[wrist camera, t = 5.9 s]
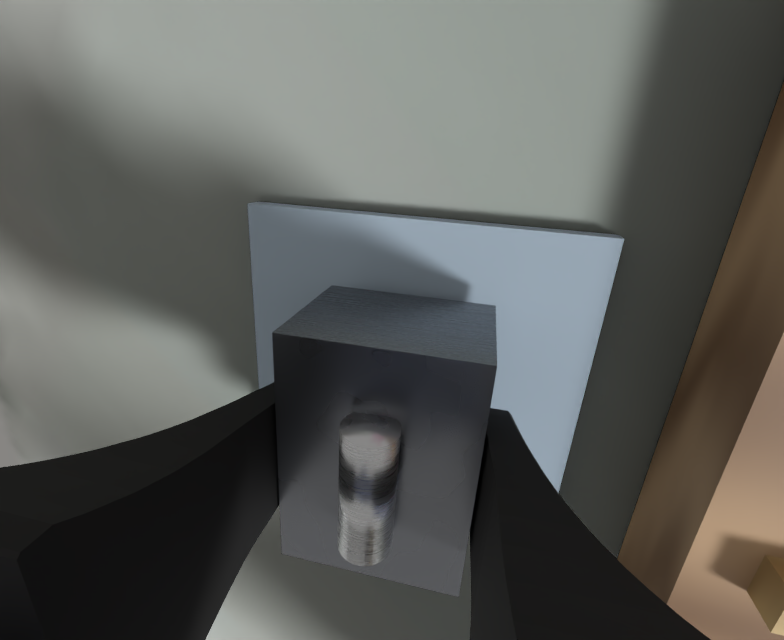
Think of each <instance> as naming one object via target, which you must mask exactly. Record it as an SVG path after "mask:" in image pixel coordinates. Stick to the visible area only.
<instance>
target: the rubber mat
mask: <svg viewBox="0 0 784 640" xmlns="http://www.w3.org/2000/svg"><path fill="white" fill-rule="evenodd" d="M247 205H248V221H249V237H250V253H251V270H252V286H253V302H254V318H255V334H256V350H257V366H258V382H259V389H261V388H263V387H265V386H267V385H269V384H271V383H273V382H274V366H273V343H272V332H273V331H275V330H276V329H277V328H279V327H280V326H281V325H282V324H284V323H285V322H286V321H287V320H289V319H290V318H291V317H292V316H294V315H295V314H296V313H297V312H299V311H300V310H301V309H302V308H304V307H305V306H306V305H307V304H309V303H310V302H311V301H312V300H314V299H315V298H316V297H317V296H319V295H320V294H321V293H322V292H324V291H325V290H326V289H328V288H329V287H330V286H331V285H334V286H342V287H350V288H358V289H366V290H374V291H383V292H391V293H399V294H407V295H415V296H423V297H431V298H439V299H447V300H455V301H463V302H471V303H479V304H487V305H495V306H496V337H497V371H496V377H495V383H494V388H493V394H492V400H491V406H490V408H494V409H500V410H506V411H509V412H510V414H511V415H512V417H513V419H514V421H515V423H516V425H517V427H518V429H519V431H520V433H521V435H522V437H523V439H524V441H525V442H526V444H527V446H528V448H529V449H530V451H531V453H532V454H533V456H534V458H535V459H536V461H537V462H538V464H539V466H540V467H541V469H542V470H543V472H544V473H545V475H546V476H547V478H548V479H549V481H550V482H551V484H552V485H553V486H554V488H555V489H556V490H557V492H558V493H559V489H560V485H561V482H562V478H563V474H564V470H565V466H566V462H567V458H568V455H569V451H570V447H571V443H572V439H573V435H574V431H575V428H576V424H577V420H578V416H579V412H580V408H581V404H582V401H583V397H584V393H585V389H586V385H587V381H588V377H589V374H590V370H591V366H592V362H593V358H594V354H595V350H596V347H597V343H598V339H599V335H600V331H601V327H602V323H603V320H604V316H605V312H606V308H607V304H608V300H609V296H610V293H611V289H612V285H613V281H614V277H615V273H616V269H617V266H618V262H619V258H620V254H621V250H622V246H623V242H624V238H622V237H621V236H619V235H615V234H604V233H593V232H583V231H572V230H561V229H550V228H539V227H528V226H518V225H507V224H496V223H485V222H474V221H464V220H453V219H442V218H431V217H420V216H409V215H399V214H388V213H377V212H366V211H355V210H344V209H334V208H323V207H312V206H301V205H290V204H280V203H269V202H253V203H248V204H247Z"/></svg>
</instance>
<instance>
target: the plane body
mask: <svg viewBox="0 0 784 640" xmlns="http://www.w3.org/2000/svg"><path fill="white" fill-rule="evenodd" d="M617 560H618V561H619V562H620V563H621V564H622V565H623V566H624V567H625V568H626V569H627V570H629V571H630V572H631V573H632V574H633V575H634V576H635V577H636V578H637V579H638V580H639V581H641V582H642V583H643V584H644V585H645V586H646V587H647V588H648V589H649V590H651V591H652V592H653V593H654V594H655V595H656V596H658V597H659V598H660V599H661V600H662V601H663V602H665V603H666V604H667V605H668V606H669V607H670V608H672V609H673V610H674V611H675V612H676V613H677V614H679V615H680V616H681V617H682V618H684V619H685V620H686V621H687V622H689V623H690V624H691V625H692V626H694V627H695V628H696V629H698V630H699V631H700V632H702V633H703V634H704V635H705V636H707V637H708V638H709V639H711V640H784V82H783V85H782V88H781V91H780V94H779V97H778V100H777V102H776V105H775V108H774V111H773V114H772V117H771V120H770V122H769V125H768V128H767V131H766V134H765V137H764V140H763V143H762V145H761V148H760V151H759V154H758V157H757V160H756V163H755V165H754V168H753V171H752V174H751V177H750V180H749V183H748V186H747V188H746V191H745V194H744V197H743V200H742V203H741V206H740V208H739V211H738V214H737V217H736V220H735V223H734V226H733V229H732V231H731V234H730V237H729V240H728V243H727V246H726V249H725V251H724V254H723V257H722V260H721V263H720V266H719V269H718V272H717V274H716V277H715V280H714V283H713V286H712V289H711V292H710V294H709V297H708V300H707V303H706V306H705V309H704V312H703V315H702V317H701V320H700V323H699V326H698V329H697V332H696V335H695V337H694V340H693V343H692V346H691V349H690V352H689V355H688V358H687V360H686V363H685V366H684V369H683V372H682V375H681V378H680V380H679V383H678V386H677V389H676V392H675V395H674V398H673V400H672V403H671V406H670V409H669V412H668V415H667V418H666V421H665V423H664V426H663V429H662V432H661V435H660V438H659V441H658V443H657V446H656V449H655V452H654V455H653V458H652V461H651V464H650V466H649V469H648V472H647V475H646V478H645V481H644V484H643V486H642V489H641V492H640V495H639V498H638V501H637V504H636V507H635V509H634V512H633V515H632V518H631V521H630V524H629V527H628V529H627V532H626V535H625V538H624V541H623V544H622V547H621V550H620V552H619V555H618V558H617Z"/></svg>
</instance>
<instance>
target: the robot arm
mask: <svg viewBox="0 0 784 640" xmlns="http://www.w3.org/2000/svg"><path fill="white" fill-rule="evenodd" d="M278 506H279V481H278V458H277V435H276V412H275V389H274V382H273V383H271V384H269V385H267V386H265V387H263V388H261V389H259V390H257V391H255V392H252V393H250V394H248V395H246V396H244V397H242V398H240V399H238V400H236V401H234V402H232V403H229V404H227V405H225V406H222V407H220V408H218V409H216V410H213V411H211V412H209V413H206V414H204V415H202V416H199V417H197V418H195V419H192V420H190V421H187V422H185V423H182V424H179V425H176V426H174V427H171V428H168V429H165V430H162V431H159V432H156V433H153V434H150V435H147V436H144V437H141V438H137V439H133V440H130V441H126V442H122V443H119V444H115V445H111V446H108V447H104V448H100V449H97V450H93V451H88V452H84V453H79V454H75V455H70V456H66V457H60V458H55V459H50V460H45V461H40V462H34V463H28V464H23V465H16V466H9V467H2V468H0V640H205V639H206V637H207V635H208V633H209V631H210V629H211V627H212V624H213V622H214V620H215V618H216V616H217V614H218V612H219V610H220V608H221V606H222V604H223V602H224V599H225V598H226V596H227V594H228V592H229V590H230V588H231V586H232V584H233V582H234V580H235V578H236V576H237V574H238V572H239V570H240V568H241V566H242V564H243V562H244V560H245V559H246V557H247V555H248V553H249V552H250V550H251V548H252V547H253V545H254V543H255V542H256V540H257V538H258V537H259V535H260V534H261V532H262V531H263V529H264V528H265V526H266V524H267V523H268V521H269V520H270V518H271V517H272V515H273V513H274V512H275V510H276V509H277V507H278ZM470 558H471V628H470V640H711V639H709V638H708V637H707V636H705V635H704V634H703V633H702V632H700V631H699V630H698V629H696V628H695V627H694V626H692V625H691V624H690V623H689V622H687V621H686V620H685V619H684V618H682V617H681V616H680V615H679V614H677V613H676V612H675V611H674V610H673V609H672V608H670V607H669V606H668V605H667V604H666V603H665V602H663V601H662V600H661V599H660V598H659V597H658V596H656V595H655V594H654V593H653V592H652V591H651V590H649V589H648V588H647V587H646V586H645V585H644V584H643V583H642V582H641V581H639V580H638V579H637V578H636V577H635V576H634V575H633V574H632V573H631V572H630V571H629V570H627V569H626V568H625V567H624V566H623V565H622V564H621V563H620V562H619V561H618V560H617V559H616V558H615V557H614V556H613V555H612V554H611V553H610V552H609V551H608V550H607V549H606V548H605V547H604V546H603V545H602V544H601V543H600V542H599V541H598V540H597V538H596V537H595V536H594V535H593V534H592V533H591V532H590V531H589V530H588V529H587V528H586V526H585V525H584V524H583V523H582V522H581V521H580V520H579V518H578V517H577V516H576V515H575V514H574V513H573V511H572V510H571V509H570V508H569V506H568V505H567V504H566V503H565V501H564V500H563V499H562V497H561V496H560V495H559V493H558V492H557V490H556V489H555V488H554V486H553V485H552V484H551V482H550V481H549V479H548V478H547V476H546V475H545V473H544V472H543V470H542V469H541V467H540V466H539V464H538V462H537V461H536V459H535V458H534V456H533V454H532V453H531V451H530V449H529V448H528V446H527V444H526V442H525V441H524V439H523V437H522V435H521V433H520V431H519V429H518V427H517V425H516V423H515V421H514V419H513V417H512V415H511V414H510V412H509V411H506V410H500V409H494V408H490V412H489V418H488V424H487V430H486V436H485V442H484V448H483V454H482V460H481V466H480V472H479V478H478V484H477V490H476V496H475V502H474V508H473V514H472V520H471V526H470Z"/></svg>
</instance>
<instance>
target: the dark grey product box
mask: <svg viewBox="0 0 784 640" xmlns="http://www.w3.org/2000/svg"><path fill="white" fill-rule="evenodd" d="M272 343H273V366H274V389H275V412H276V435H277V458H278V481H279V504H280V527H281V550H282V554H284V555H288V556H292V557H296V558H300V559H305V560H309V561H313V562H317V563H321V564H325V565H329V566H333V567H337V568H341V569H346V570H350V571H354V572H358V573H362V574H366V575H370V576H374V577H378V578H382V579H387V580H391V581H395V582H399V583H403V584H407V585H411V586H415V587H419V588H423V589H428V590H432V591H436V592H440V593H444V594H448V595H452V596H456V597H459V592H460V586H461V580H462V574H463V568H464V562H465V556H466V550H467V544H468V538H469V532H470V526H471V520H472V514H473V508H474V502H475V496H476V490H477V484H478V478H479V472H480V466H481V460H482V454H483V448H484V442H485V436H486V430H487V424H488V418H489V412H490V406H491V400H492V394H493V388H494V383H495V377H496V371H497V337H496V306H495V305H487V304H479V303H471V302H463V301H455V300H447V299H439V298H431V297H423V296H415V295H407V294H399V293H391V292H383V291H374V290H366V289H358V288H350V287H342V286H334V285H331V286H330V287H329V288H328V289H326V290H325V291H324V292H322V293H321V294H320V295H319V296H317V297H316V298H315V299H314V300H312V301H311V302H310V303H309V304H307V305H306V306H305V307H304V308H302V309H301V310H300V311H299V312H297V313H296V314H295V315H294V316H292V317H291V318H290V319H289V320H287V321H286V322H285V323H284V324H282V325H281V326H280V327H279V328H277V329H276V330H275V331H273V332H272Z"/></svg>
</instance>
